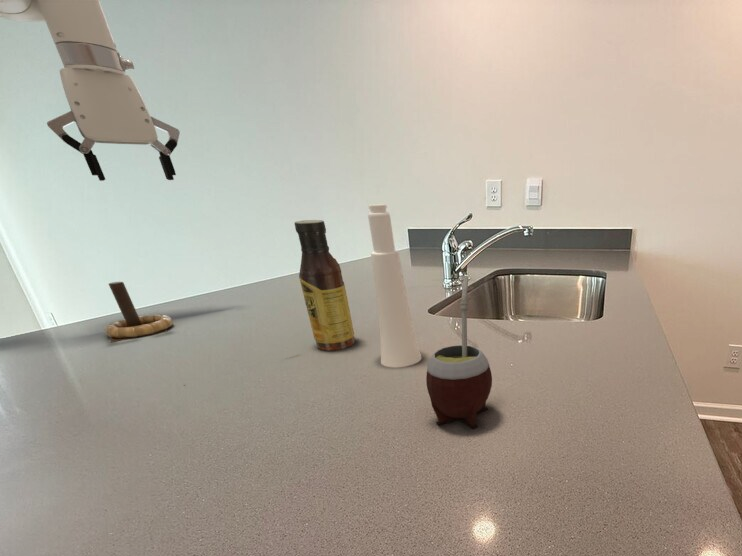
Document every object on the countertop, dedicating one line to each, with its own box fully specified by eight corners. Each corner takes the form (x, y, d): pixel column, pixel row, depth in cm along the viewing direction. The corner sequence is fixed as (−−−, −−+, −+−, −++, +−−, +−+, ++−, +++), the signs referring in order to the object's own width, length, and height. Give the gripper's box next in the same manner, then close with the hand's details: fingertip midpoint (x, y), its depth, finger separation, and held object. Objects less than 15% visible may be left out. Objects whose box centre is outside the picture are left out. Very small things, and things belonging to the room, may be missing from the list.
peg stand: (113, 347, 71) (85, 290, 67) (110, 337, 76) (84, 283, 72) (169, 335, 76) (147, 282, 72) (163, 326, 81) (142, 276, 77)
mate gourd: (447, 442, 42) (431, 299, 35) (420, 411, 48) (401, 284, 41) (508, 421, 46) (504, 287, 39) (475, 394, 52) (467, 275, 45)
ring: (109, 343, 70) (104, 333, 69) (106, 331, 76) (101, 321, 75) (177, 329, 76) (174, 320, 75) (169, 319, 82) (166, 310, 81)
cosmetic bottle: (384, 372, 59) (354, 206, 49) (378, 358, 64) (350, 204, 54) (425, 364, 61) (405, 204, 51) (417, 351, 66) (396, 203, 56)
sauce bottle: (317, 343, 70) (286, 220, 62) (355, 337, 72) (330, 218, 64) (317, 356, 65) (283, 223, 56) (358, 349, 67) (331, 220, 58)
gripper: (156, 75, 74) (190, 180, 82) (17, 59, 64) (72, 181, 71) (162, 67, 70) (198, 179, 77) (13, 48, 59) (72, 180, 66)
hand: (137, 180), depth 74 cm, fingers open, 9 cm apart
